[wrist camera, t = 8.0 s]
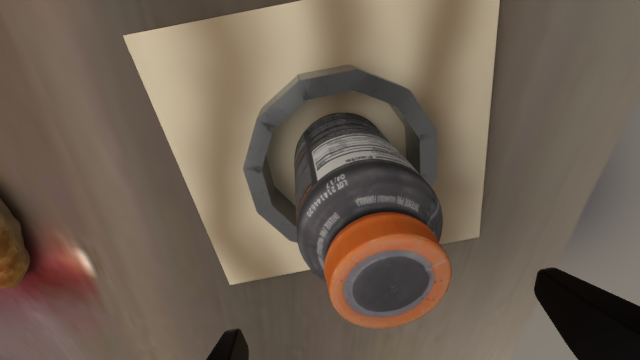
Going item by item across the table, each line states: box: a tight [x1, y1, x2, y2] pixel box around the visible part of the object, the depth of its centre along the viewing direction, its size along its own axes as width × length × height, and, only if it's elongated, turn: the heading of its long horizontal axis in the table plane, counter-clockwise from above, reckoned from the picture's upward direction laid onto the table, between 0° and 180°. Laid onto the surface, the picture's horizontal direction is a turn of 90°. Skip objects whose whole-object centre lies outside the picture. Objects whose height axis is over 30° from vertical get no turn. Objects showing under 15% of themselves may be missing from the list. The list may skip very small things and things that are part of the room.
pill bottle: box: [294, 113, 452, 329], centre depth 14 cm, size 6×6×11 cm
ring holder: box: [123, 0, 500, 285], centre depth 19 cm, size 20×18×3 cm
